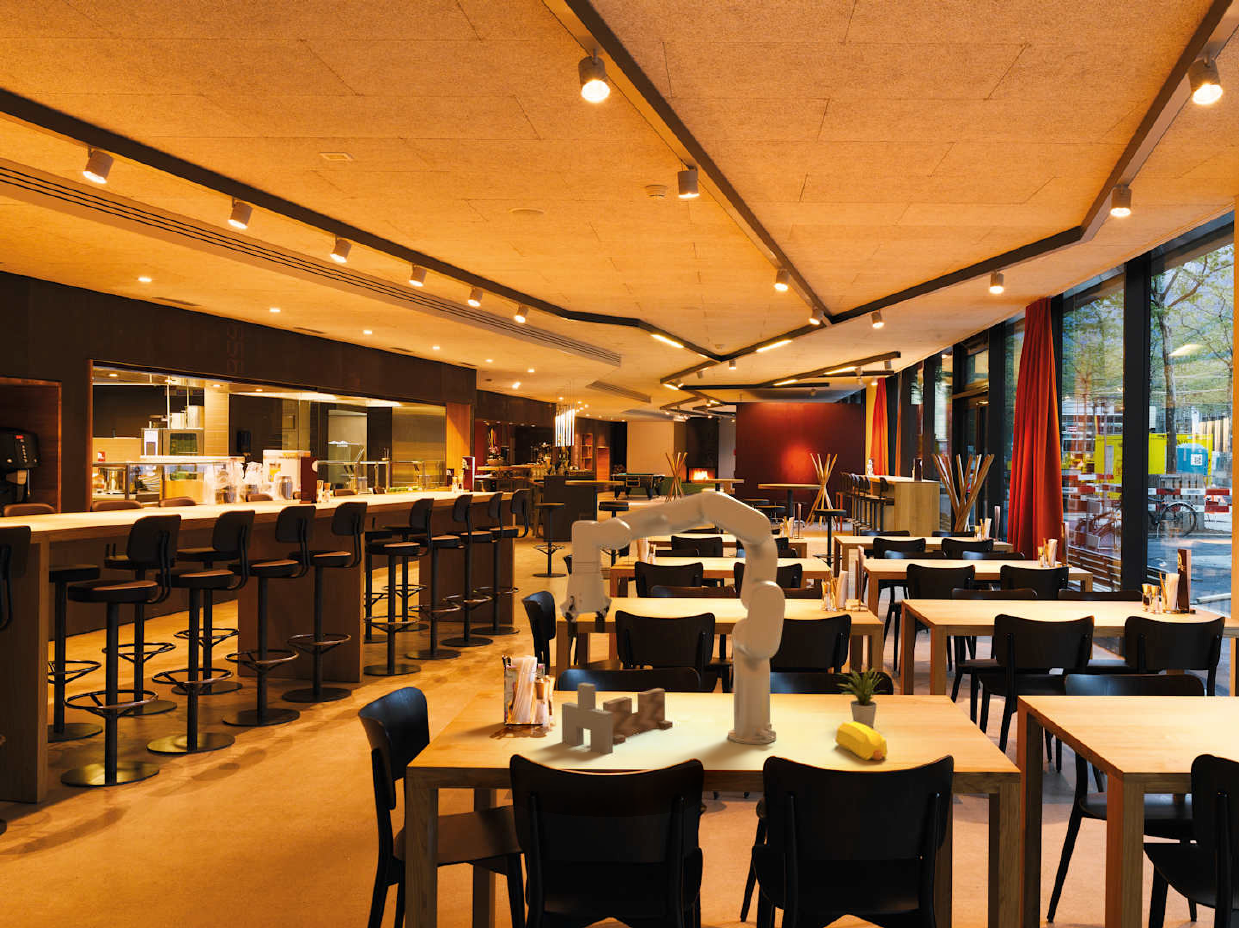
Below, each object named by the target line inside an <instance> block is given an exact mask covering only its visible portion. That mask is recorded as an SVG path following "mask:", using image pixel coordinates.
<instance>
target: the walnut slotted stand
mask: <svg viewBox="0 0 1239 928" xmlns="http://www.w3.org/2000/svg"><path fill="white" fill-rule="evenodd" d="M665 695H666V690H665V689H664V688H660V687H657V688H652V689H650V690H649V689H648V690H646V691H642V692H639V693H637V711H635V712H633V698H632V697H630V696H629V697H628V696H622V697H618V698H615V699H611V700H605V701H603V702H602V710H605V711H609V712H613V744H616V745H619V744H622V743H623V744H624V743H626V741H627V740H626V739H627V738H628V737H632V736H635V735H638V734H637V733H639V734H641V733H644V732H648V730H649V731H652V730H655V729H658V728H657V727H659V729H661V728H663V729H662V730H669V729H671V728H670V727H672V728H673V726H674V725H673V721H670V720H666V696H665ZM654 728H655V729H654ZM668 728H669V729H668ZM651 729H652V730H651ZM634 734H635V735H634Z"/></svg>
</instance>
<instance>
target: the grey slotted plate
mask: <svg viewBox="0 0 1239 928" xmlns="http://www.w3.org/2000/svg"><path fill="white" fill-rule="evenodd" d="M596 694H597V692H596V684H594V683H588V682H582V683H577V703H575V702H571V701H568V702H562V703H561V742H562V743H564V744H567V745H571V746H574V745H575V747H578V745H579V746H582V745H584V744H585V743H584V740H585V739H584V738H585V737H584V735H585V733H584V732H585V731H584V729H585V730H587V731H590V732H589V734H590V735H589V738H590V739H589V742H590V745H589V747H590V748H589V750H590V751H592V752H596V751H597V753H599V752H600V754H603V755H609V754H612V753H614V743H613V712H609V711H605V710H603V709H600V708H596V707H597V705H596V704H597V701H596V699H597V698H596V697H597V696H596Z"/></svg>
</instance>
